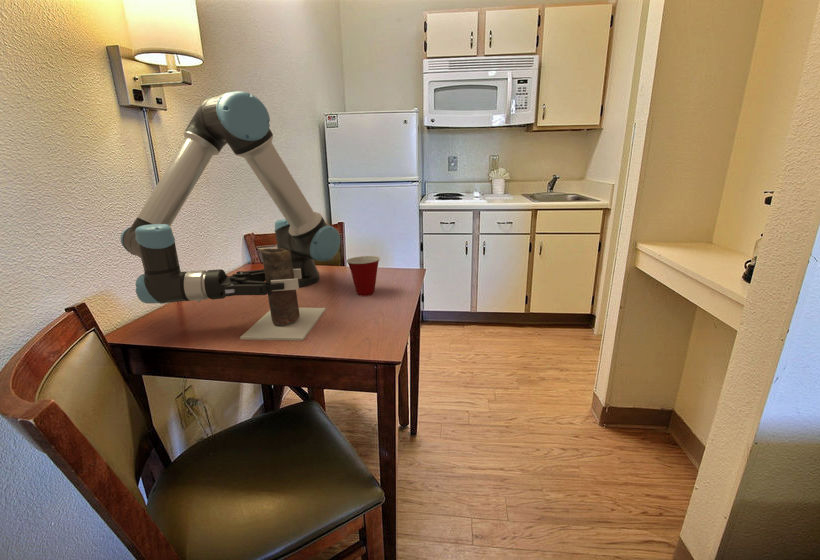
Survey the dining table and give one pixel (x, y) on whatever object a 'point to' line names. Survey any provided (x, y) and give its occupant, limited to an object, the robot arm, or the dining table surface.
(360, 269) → the plastic cup
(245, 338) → the mat
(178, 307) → the dining table surface
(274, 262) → the brown rough cylinder
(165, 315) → the dining table surface
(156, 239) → the robot arm
